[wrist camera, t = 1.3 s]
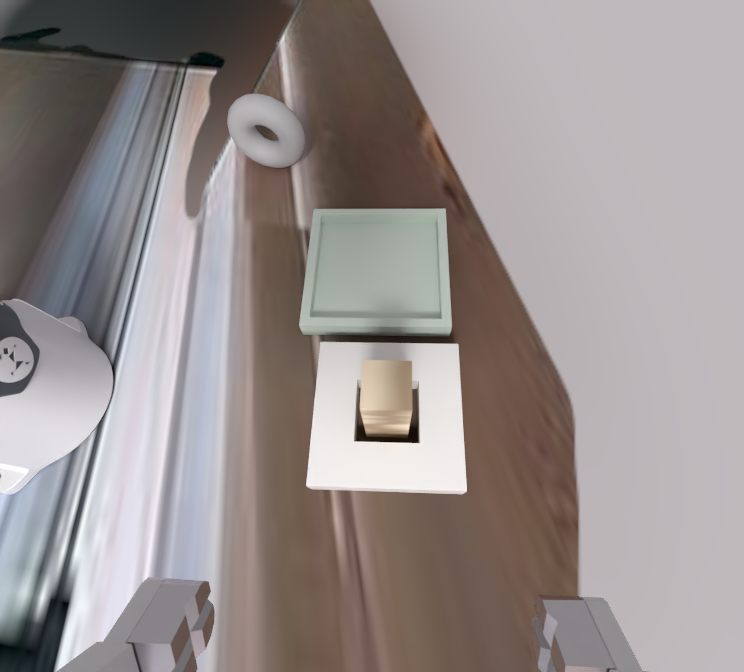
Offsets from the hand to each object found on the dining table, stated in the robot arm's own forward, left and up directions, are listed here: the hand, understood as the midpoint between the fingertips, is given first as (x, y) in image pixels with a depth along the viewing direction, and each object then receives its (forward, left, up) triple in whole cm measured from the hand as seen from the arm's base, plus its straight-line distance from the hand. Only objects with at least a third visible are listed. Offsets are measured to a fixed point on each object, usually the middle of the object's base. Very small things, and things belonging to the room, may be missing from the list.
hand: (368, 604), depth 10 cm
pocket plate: (0, +12, -29) cm, 31 cm away
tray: (-2, +29, -29) cm, 41 cm away
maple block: (0, +12, -29) cm, 31 cm away
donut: (-16, +47, -29) cm, 58 cm away
